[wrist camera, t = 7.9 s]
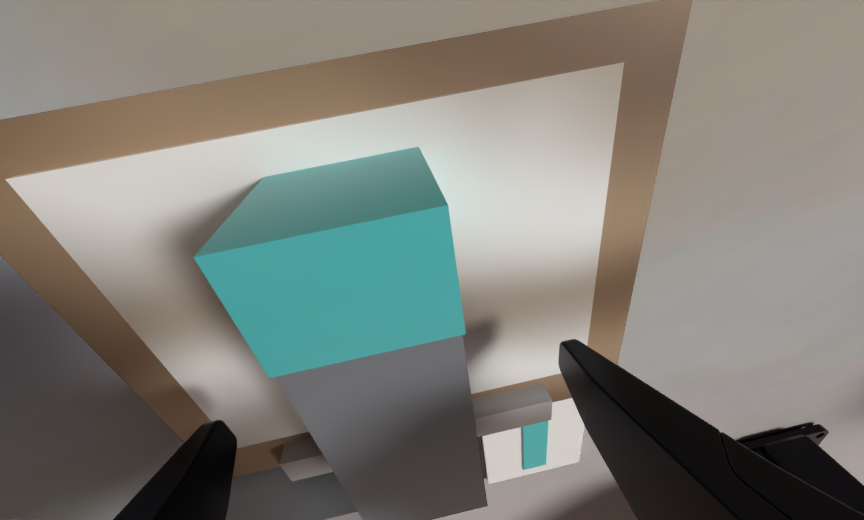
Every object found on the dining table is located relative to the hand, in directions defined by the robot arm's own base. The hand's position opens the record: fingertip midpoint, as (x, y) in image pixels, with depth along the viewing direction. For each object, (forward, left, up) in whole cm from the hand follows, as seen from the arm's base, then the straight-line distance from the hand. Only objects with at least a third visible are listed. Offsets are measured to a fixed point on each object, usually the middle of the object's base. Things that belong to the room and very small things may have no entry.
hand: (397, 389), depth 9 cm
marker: (+1, 0, -2) cm, 2 cm away
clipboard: (+1, 0, -3) cm, 3 cm away
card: (-9, -5, -3) cm, 11 cm away
